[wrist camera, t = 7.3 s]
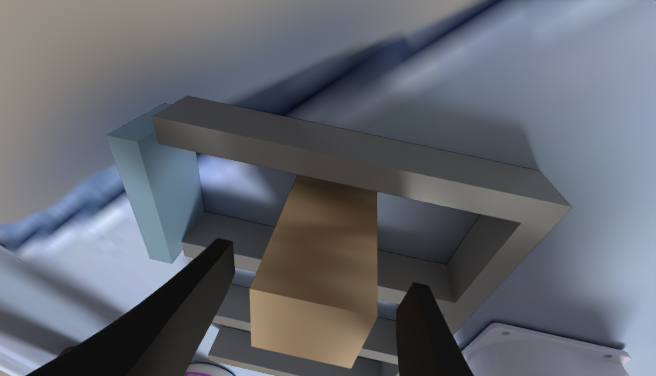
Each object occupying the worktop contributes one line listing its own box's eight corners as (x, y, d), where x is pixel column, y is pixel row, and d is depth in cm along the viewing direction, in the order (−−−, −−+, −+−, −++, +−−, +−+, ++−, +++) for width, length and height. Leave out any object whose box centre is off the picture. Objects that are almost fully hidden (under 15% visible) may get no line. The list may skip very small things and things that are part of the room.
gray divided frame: (540, 171, 12) (588, 225, 9) (389, 370, 26) (390, 416, 23) (162, 90, 13) (100, 119, 10) (210, 329, 26) (190, 370, 23)
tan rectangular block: (376, 184, 14) (377, 316, 8) (359, 238, 16) (351, 368, 11) (299, 168, 14) (249, 288, 8) (293, 224, 16) (251, 346, 11)
